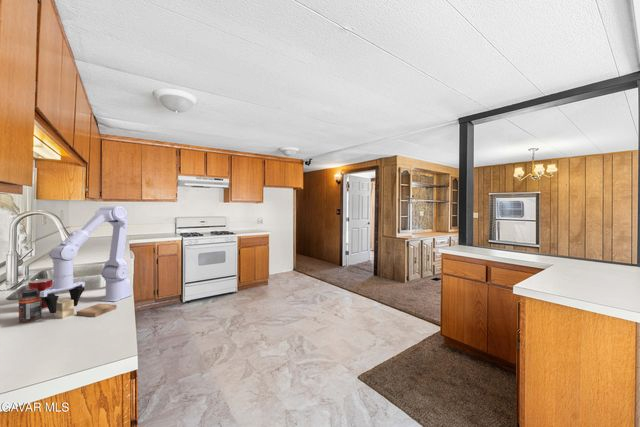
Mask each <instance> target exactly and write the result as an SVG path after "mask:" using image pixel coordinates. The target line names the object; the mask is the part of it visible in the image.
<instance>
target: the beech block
mask: <svg viewBox="0 0 640 427" xmlns="http://www.w3.org/2000/svg"><path fill="white" fill-rule="evenodd" d="M53 315H54V316H53V317H54V318H55V319H65V318H68V317H71V316H74V315H75V306H74V300H71V299H67V298H66V299H62V300H57V305H56V313H54V314H53Z"/></svg>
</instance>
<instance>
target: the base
mask: <svg viewBox="0 0 640 427" xmlns="http://www.w3.org/2000/svg"><path fill="white" fill-rule="evenodd" d="M116 309H117V304H107V303H97V304H94V305H92V306H89V307H85V308H83V309H80V310H77V311H76V316H80V317H90V318H91V317H92V318H96V317H98V316H102V315H104V314H107V313H109V312H111V311H114V310H116Z"/></svg>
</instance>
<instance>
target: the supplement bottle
mask: <svg viewBox="0 0 640 427" xmlns="http://www.w3.org/2000/svg"><path fill="white" fill-rule="evenodd" d="M37 293H38V290H37V289H31V290H28V289H27V290H23V291H22V296H21V297H19V299H18V320H19V323H20V322H21V323H28V322H29V323H30V322H34V321H36V320H40V319H41V318H42V314H43V310H42V299H41V297H40V295H39V294H37Z"/></svg>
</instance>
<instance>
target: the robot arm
mask: <svg viewBox="0 0 640 427" xmlns="http://www.w3.org/2000/svg"><path fill="white" fill-rule="evenodd" d="M127 216H128V211H127V209H125V207H123V206H121V205H116V206H112V205H111V206H107V205H103V206H101V207H99V208H98V209H96V211H95V213H94V215H93V216H92V217H91V218H90V219H89V220H88V221H87V222H86V224H84V226H83V227H82V228H81V229H77V230H75V231H71V232H70V233H69V235H68V237H67V238H66V239H64V240H63V241H61V242H60V244H59V245H55V246H54V247H52V248H51V251H50V252H48V256H49V258H50V259H51V260H52V263H53V265H52V266H53V267H52V268H53V270H52V271H53V272H52V273H53V274H52V276H53V288H50V289H47V290H44V291H41V292H40V297H41V299H42V300H43V301H44V302H45V304H46V305H47V307H48V313H49V314H53V315H54V313H56V305H57V302H58V301H59V300H58V299H59V298H60V297H59V295H56V294H58V293H63V292H66V291H68V293H69V296H70V300H74V307H78V304H79V302H80V301H79V300H80V299H81V296H82V294H83V292H84V291H85V286H86V283H85V281H78V282H74V259H75V258H76V257H77V256H78V251H79V250H80V248H81V247H83V245H85V243H86V242H87V241H89V239H90V234H91V233H93V232H94V231H95V230H97V228H98V227H99V226H101V225H102V224H103V223H105V222H106V223H109V224H110V225H111V226H112V227H113V228H112V236H111V241H110V242H111V243H110V252H109V259H108V260H107V261H106V262H105V263H104V265H103V268H102V269H101V272H100V273H101V274H100V275H101V277H102V278H103V279H104V281H105V297H104V298H101V299H100V301H101V302H102V301H103V302H118V301H119V300H123V299H126V298H128V297H131V296H132V295H133V294H132V290H131V289H132V288H131V287H132V286H131V279H130V278H128V276H129V272H130V271H129V267H128V265H129V264H128V263H127V261H126V260H125V259H124V258H125V252H126V243H127V242H126V241H127V235H128V228H129V227H128V225H129V222H128V221H129V220H128V217H127Z"/></svg>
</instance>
